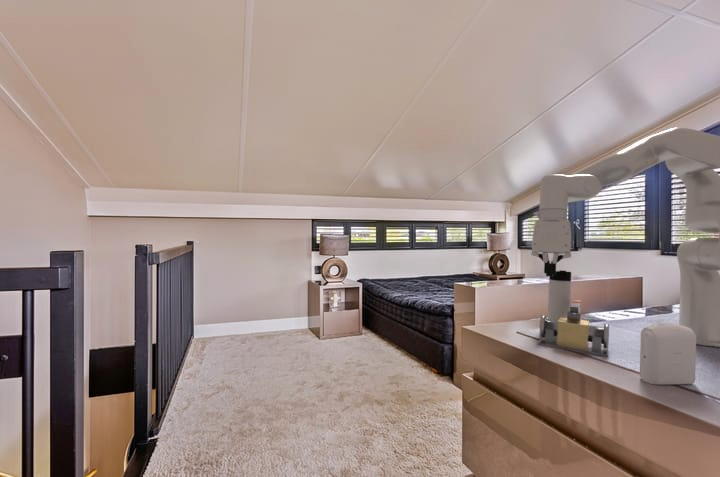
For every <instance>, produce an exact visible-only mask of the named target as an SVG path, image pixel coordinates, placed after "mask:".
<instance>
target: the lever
mask: <svg viewBox="0 0 720 477" xmlns="http://www.w3.org/2000/svg"><path fill="white" fill-rule="evenodd" d="M581 310H582V300H578V299H573V300H572V303H571V304H570V312H567V320H570V321H580V320H582V319H581V318H582V317H581V316H582V314H581Z"/></svg>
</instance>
